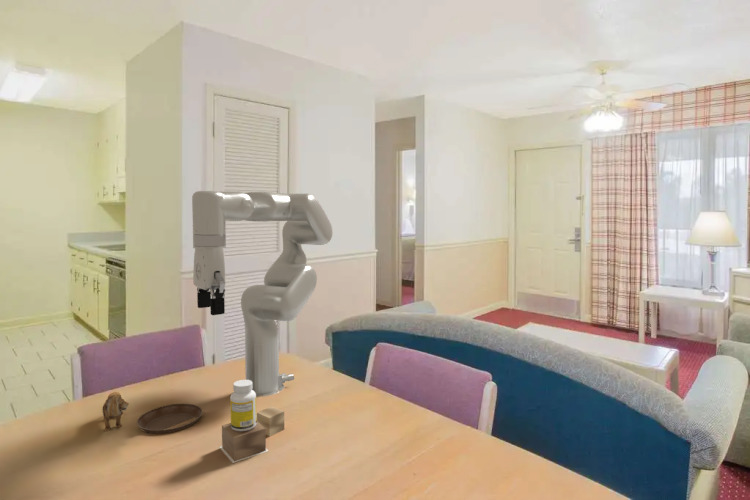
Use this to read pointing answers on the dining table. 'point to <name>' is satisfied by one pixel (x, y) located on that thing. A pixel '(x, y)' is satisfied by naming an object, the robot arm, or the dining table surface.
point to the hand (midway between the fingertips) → (210, 310)
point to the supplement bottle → (243, 406)
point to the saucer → (168, 418)
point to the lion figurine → (113, 409)
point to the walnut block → (243, 441)
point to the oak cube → (271, 420)
